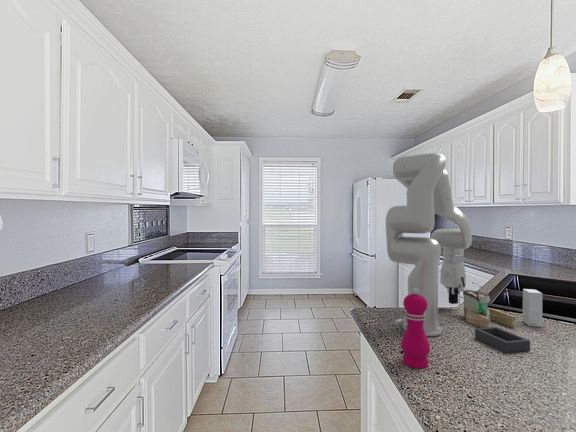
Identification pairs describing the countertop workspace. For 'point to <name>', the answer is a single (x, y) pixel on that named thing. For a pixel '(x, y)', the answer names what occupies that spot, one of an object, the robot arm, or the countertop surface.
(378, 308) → the countertop surface
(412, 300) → the pepper mill
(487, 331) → the tray
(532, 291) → the skincare box
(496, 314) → the wooden channel
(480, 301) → the food container
